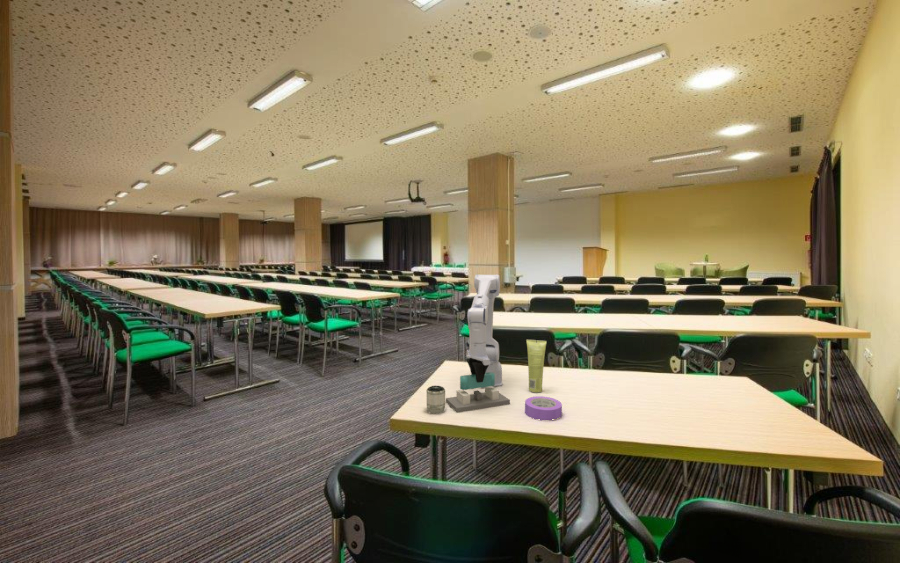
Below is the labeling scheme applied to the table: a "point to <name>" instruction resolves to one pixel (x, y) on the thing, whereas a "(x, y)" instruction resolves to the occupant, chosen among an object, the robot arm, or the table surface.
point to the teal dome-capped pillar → (471, 382)
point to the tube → (535, 364)
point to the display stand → (476, 400)
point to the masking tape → (543, 408)
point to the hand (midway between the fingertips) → (477, 380)
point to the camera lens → (435, 399)
